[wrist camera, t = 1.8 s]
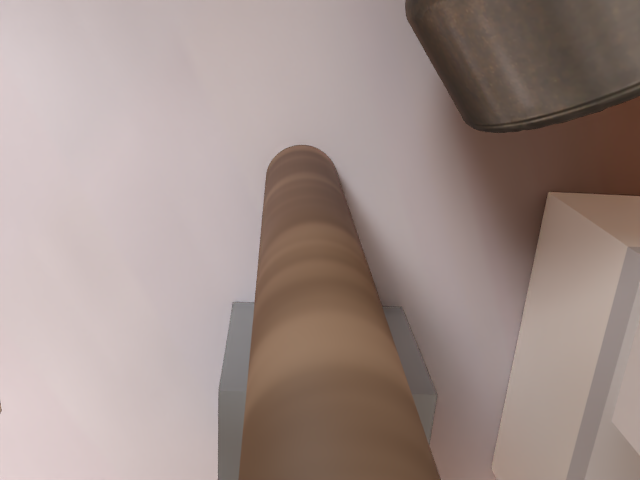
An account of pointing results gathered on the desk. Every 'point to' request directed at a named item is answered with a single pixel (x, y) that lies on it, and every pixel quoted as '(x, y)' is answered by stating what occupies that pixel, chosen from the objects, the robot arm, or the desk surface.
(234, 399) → the pen cup
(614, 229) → the white box
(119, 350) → the desk surface
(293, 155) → the brown wooden rod
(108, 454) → the desk surface
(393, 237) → the desk surface
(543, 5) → the alarm clock
